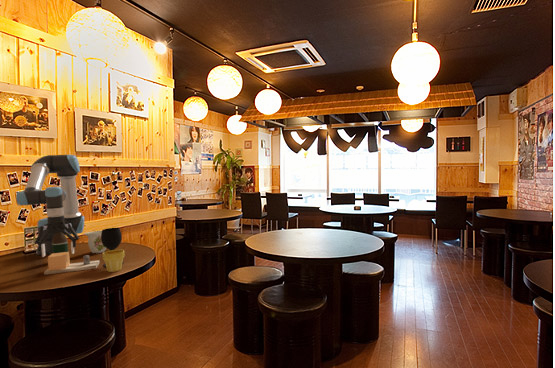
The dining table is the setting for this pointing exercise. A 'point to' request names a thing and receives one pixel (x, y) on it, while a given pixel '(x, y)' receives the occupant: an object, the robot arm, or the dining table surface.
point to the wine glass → (111, 238)
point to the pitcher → (95, 242)
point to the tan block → (58, 261)
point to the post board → (76, 266)
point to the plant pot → (113, 260)
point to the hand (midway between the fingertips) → (58, 254)
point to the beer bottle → (59, 243)
